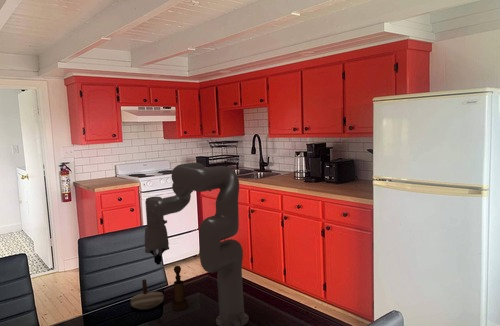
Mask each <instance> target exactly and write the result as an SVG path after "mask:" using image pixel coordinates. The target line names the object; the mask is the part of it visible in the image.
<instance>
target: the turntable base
mask: <svg viewBox="0 0 500 326" xmlns="http://www.w3.org/2000/svg"><path fill="white" fill-rule="evenodd" d="M159 305H160V304H158V305H156V306H153V307H149V308H136V309H137V310H138V311H149V310H153V309H155V308H157V307H158V306H159Z"/></svg>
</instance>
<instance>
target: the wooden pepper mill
mask: <svg viewBox="0 0 500 326" xmlns="http://www.w3.org/2000/svg"><path fill="white" fill-rule="evenodd" d="M173 271H174V273H175V276H174V277H175V280H174V282H173V290H174V300H173V301H172V305H171V306H172V307H171V308H172V310H174V311H176V312H180V311H181V312H182V311H184V310H187V309H188V307H189V303H188V300H187V298H185V291H184V289H185V288H184V281H183V280H181V275H180V273H181V272H182V267H181V266H180V265H175V266H174V267H173Z"/></svg>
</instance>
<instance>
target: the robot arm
mask: <svg viewBox="0 0 500 326" xmlns="http://www.w3.org/2000/svg"><path fill="white" fill-rule="evenodd" d="M170 177H171V180H172V182H173V183H172V185H171V187H172V191H173V193H174V194H175V195H171V196H167V197H161V196H148V197H147V198H146V199H145V202H144V204H145V215H146V227H145V228H144V248H145V249H144V253H146V254H151V255H152V256H153V260H154V264H156V266H159V265H162V264H161V263H163V262H162V259H163V258H162V255H163V254H164V253H165V252H166V251H168V250H170V246H169V244H170V243H169V236H168V235H169V234H168V231H167V227H166V225H165V224H168V220H167V219H166V220H165V216H169V215H171V214H177V213H179V212H181V211H183V210H184V208H185V207H186V206H188V204H189V203H190V201H191V197H192V196H191V194H192V193H194V192H199V193H203V192H208V191H212V190H213V191H214V190H217V189H219V192H218V193H217V196H216V200H215V214H214V215H211V216H207V217H206V218H204V219H203V220H202V221H201V223H200V225H199V231H198V234H199V235H198V239H199V243H198V245H199V246H198V247H199V261H200V265H201V267H202V269H203V270H204V271H206V272H207V273H210V274H213V273H217V275H216V278H217V279H216V281H217V294H218V295H217V296H218V297H217V298H218V310H219V311H218V312H219V315H218V316H217V317H216V318H215V324H216V325H217V326H245V325H247V324H248V323H249V321H250V320H249V319H250V317H249V315H248V314H247V313H246V312H245V305H244V290H243V289H244V288H243V287H244V286H243V259H244V251H243V246H242V244H241V243H240V242H239V241H238V240H236V239H232V237H234V236H235V235H236V234H238V232H239V225H240V224H239V223H240V221H239V214H240V213H239V194H240V181H239V180H240V179H239V177H238V175H237V173H236V172H235V170H234V169H233V168H231V167H229V166H225V165H216V166H211V167H205V165H204V164H203V163H200V162H188V163H181V164H177V165H176V166H174V168H173V169H172V171H171V176H170ZM230 238H231V239H230ZM157 251H158V253H157Z"/></svg>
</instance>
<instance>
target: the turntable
mask: <svg viewBox="0 0 500 326" xmlns="http://www.w3.org/2000/svg"><path fill="white" fill-rule="evenodd" d="M141 282H142V283H141V284H142V292H141V293H139V294H136V295H134V296H132V297H131V299H130V306H131V307H133V308H135V309H137V308H149V307H153V306H156V305H158V304H159V305H160V304H162V303H163V302H164V300H165V297H164V294H163V292H160V291H156V290H155V291H151V290H150V291H148V286H147V285H148V284H147V283H148V282H147V279H146V278H145V279H141ZM159 305H158V306H159Z"/></svg>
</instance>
